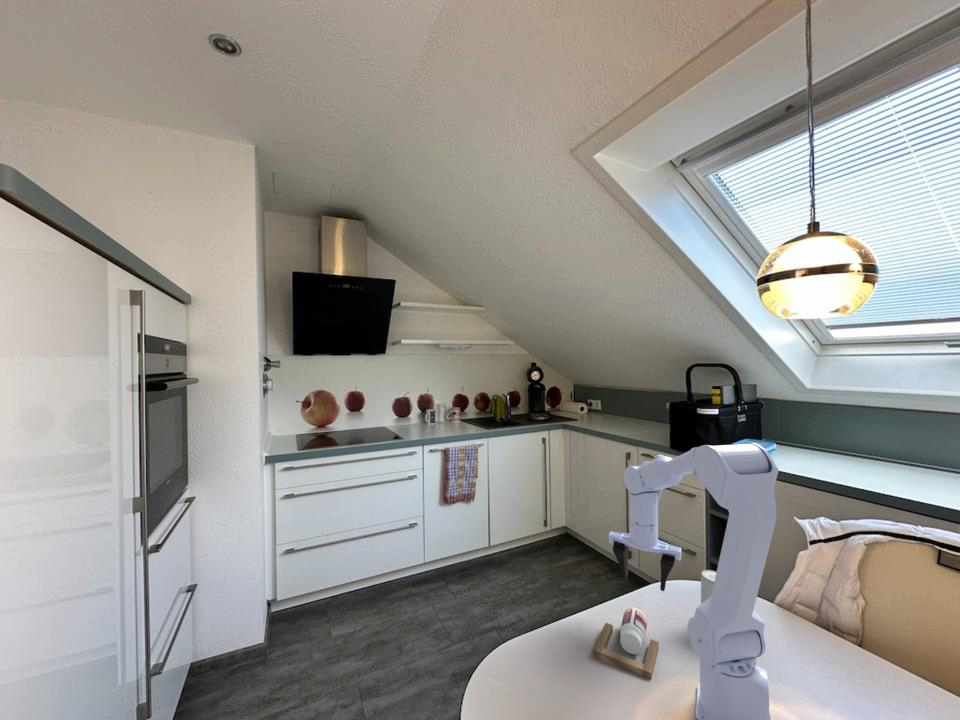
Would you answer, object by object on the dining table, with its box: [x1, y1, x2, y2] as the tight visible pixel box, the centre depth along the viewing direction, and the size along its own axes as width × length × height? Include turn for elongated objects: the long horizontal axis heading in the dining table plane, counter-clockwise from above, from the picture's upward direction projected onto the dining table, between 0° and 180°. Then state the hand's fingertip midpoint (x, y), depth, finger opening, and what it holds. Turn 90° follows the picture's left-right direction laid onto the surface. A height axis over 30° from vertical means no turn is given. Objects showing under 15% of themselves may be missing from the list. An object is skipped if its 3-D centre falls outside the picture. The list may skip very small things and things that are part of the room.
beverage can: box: [700, 569, 717, 605], centre depth 82 cm, size 5×5×12 cm
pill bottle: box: [619, 607, 648, 655], centre depth 79 cm, size 5×5×8 cm
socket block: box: [592, 622, 660, 680], centre depth 76 cm, size 10×9×2 cm
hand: (643, 582), depth 84 cm, fingers open, 7 cm apart
